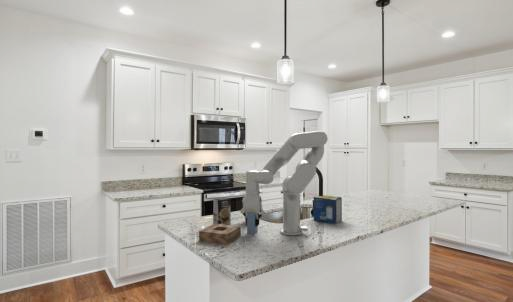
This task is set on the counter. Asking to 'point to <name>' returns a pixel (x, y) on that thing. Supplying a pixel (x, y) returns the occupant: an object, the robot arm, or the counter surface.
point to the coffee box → (222, 211)
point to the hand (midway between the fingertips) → (252, 225)
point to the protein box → (328, 209)
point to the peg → (251, 223)
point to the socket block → (220, 233)
